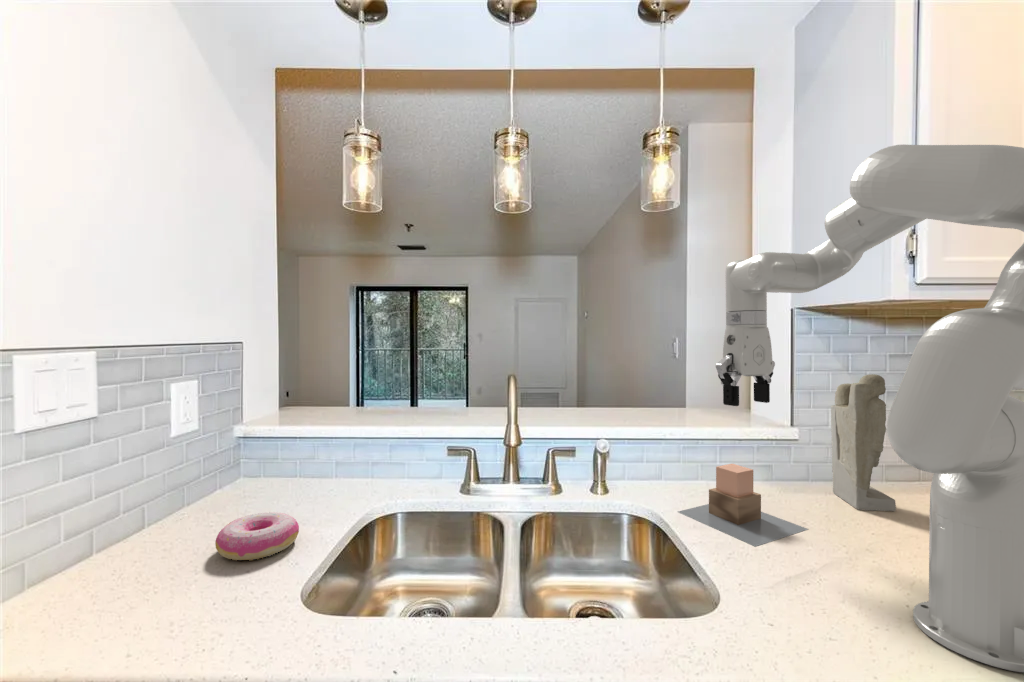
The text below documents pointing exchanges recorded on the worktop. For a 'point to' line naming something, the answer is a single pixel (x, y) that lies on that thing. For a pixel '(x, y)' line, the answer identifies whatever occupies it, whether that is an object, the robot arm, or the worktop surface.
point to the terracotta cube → (734, 480)
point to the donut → (257, 536)
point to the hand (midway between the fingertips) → (746, 403)
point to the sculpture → (859, 442)
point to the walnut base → (735, 506)
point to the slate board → (746, 526)
